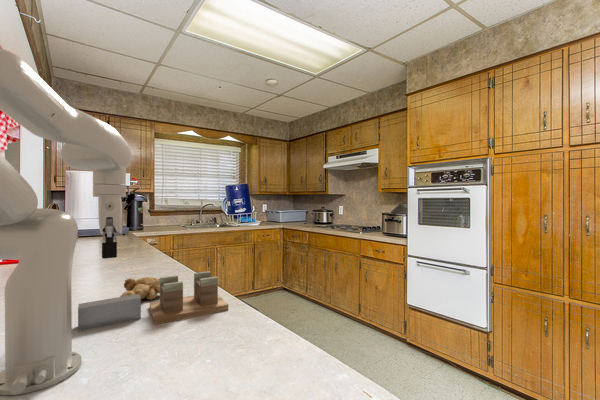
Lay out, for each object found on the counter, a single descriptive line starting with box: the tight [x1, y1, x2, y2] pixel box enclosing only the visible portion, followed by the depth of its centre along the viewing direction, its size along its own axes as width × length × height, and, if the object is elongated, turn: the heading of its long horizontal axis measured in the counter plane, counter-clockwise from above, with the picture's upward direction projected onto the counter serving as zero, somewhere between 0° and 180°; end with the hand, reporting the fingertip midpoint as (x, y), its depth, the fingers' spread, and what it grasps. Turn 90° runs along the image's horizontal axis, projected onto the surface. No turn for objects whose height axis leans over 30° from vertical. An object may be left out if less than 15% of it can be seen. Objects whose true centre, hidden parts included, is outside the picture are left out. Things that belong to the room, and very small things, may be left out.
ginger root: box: [119, 276, 160, 301], centre depth 100 cm, size 16×16×8 cm
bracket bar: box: [77, 294, 142, 333], centre depth 80 cm, size 4×14×6 cm, turn 125°
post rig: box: [149, 270, 229, 325], centre depth 90 cm, size 14×20×10 cm
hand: (109, 254), depth 80 cm, fingers open, 9 cm apart
